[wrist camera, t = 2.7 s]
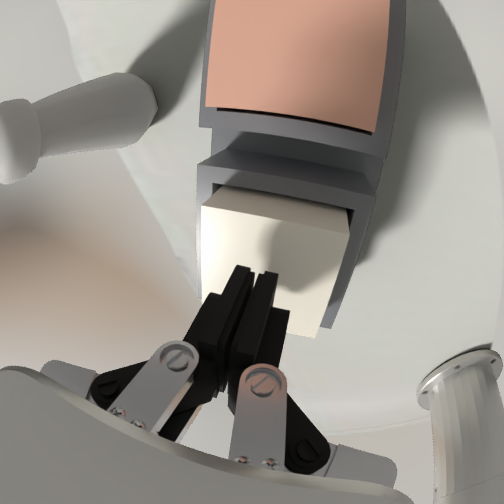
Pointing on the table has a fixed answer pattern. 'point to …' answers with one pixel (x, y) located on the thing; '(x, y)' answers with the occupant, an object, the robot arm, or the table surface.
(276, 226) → the ivory key
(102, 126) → the salt shaker
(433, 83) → the table surface
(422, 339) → the table surface
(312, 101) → the terracotta key
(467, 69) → the table surface
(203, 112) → the key panel
